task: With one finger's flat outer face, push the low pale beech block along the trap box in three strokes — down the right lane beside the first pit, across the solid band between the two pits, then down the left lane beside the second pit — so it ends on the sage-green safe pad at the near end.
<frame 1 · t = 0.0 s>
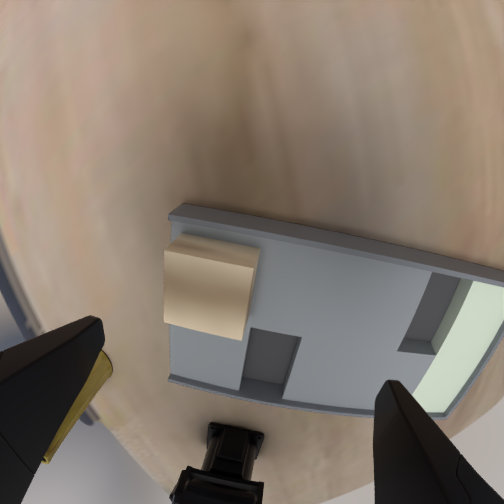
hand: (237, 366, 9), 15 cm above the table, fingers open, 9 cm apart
beech block: (216, 276, 23), point 2 cm above the table, touching trap box
trap box: (343, 328, 25), on the table
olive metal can: (91, 357, 32), on the table
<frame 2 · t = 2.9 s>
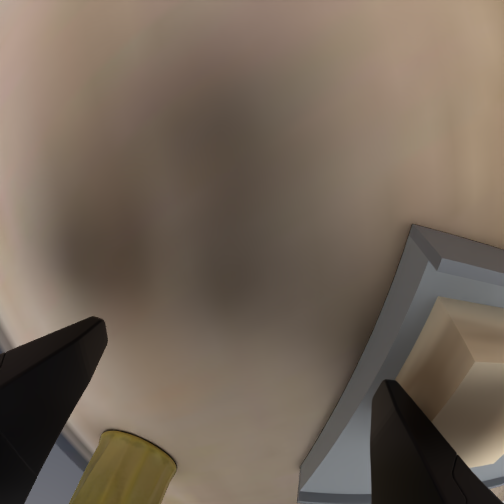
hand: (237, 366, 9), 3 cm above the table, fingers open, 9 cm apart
beech block: (463, 368, 9), point 2 cm above the table, touching gripper
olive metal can: (139, 451, 19), on the table
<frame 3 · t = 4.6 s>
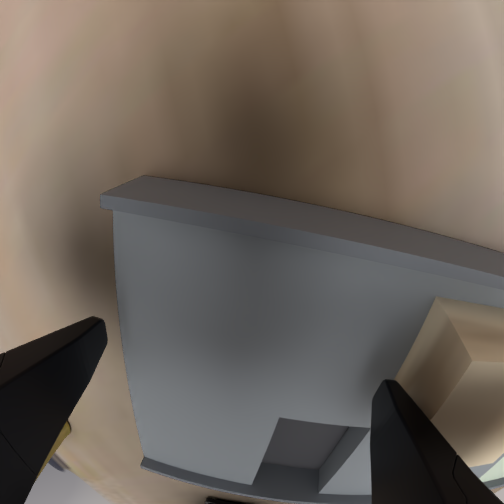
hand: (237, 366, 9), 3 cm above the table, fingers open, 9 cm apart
beech block: (462, 367, 9), point 2 cm above the table, touching gripper, trap box
trap box: (428, 398, 13), on the table
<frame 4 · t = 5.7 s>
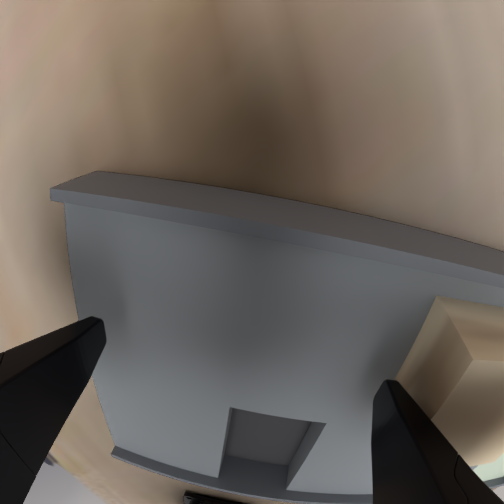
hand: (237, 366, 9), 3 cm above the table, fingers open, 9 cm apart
beech block: (463, 366, 9), point 2 cm above the table, touching gripper, trap box
trap box: (394, 396, 13), on the table
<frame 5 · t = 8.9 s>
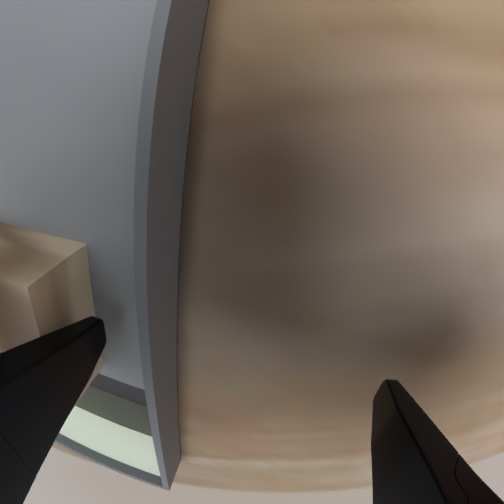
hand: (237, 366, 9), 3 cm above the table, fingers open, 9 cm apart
beech block: (43, 293, 11), point 2 cm above the table, touching gripper, trap box
trap box: (29, 242, 12), on the table
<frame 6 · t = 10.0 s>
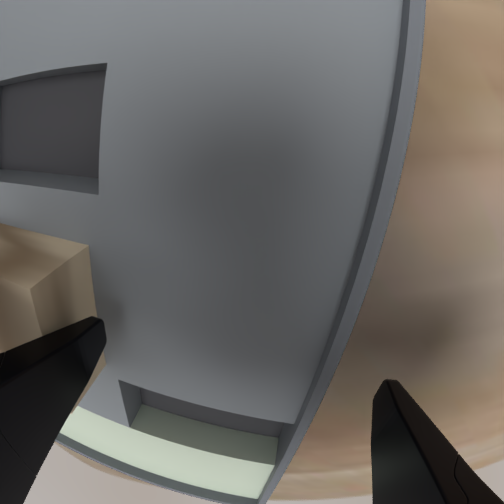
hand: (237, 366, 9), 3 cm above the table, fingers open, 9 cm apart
beech block: (44, 294, 11), point 2 cm above the table, touching gripper, trap box
trap box: (130, 268, 12), on the table
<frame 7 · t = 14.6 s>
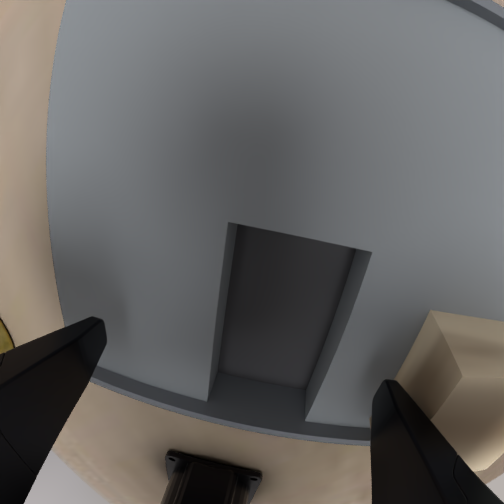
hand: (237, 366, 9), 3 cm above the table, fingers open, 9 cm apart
beech block: (456, 377, 10), point 2 cm above the table
trap box: (448, 249, 10), on the table
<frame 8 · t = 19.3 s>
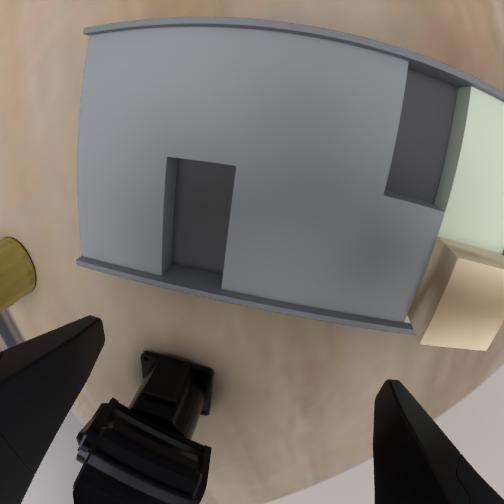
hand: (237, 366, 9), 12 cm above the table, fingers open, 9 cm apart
beech block: (457, 284, 17), point 2 cm above the table, touching trap box
trap box: (302, 171, 18), on the table
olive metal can: (18, 264, 25), on the table
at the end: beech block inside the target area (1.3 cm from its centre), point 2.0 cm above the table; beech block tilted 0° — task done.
